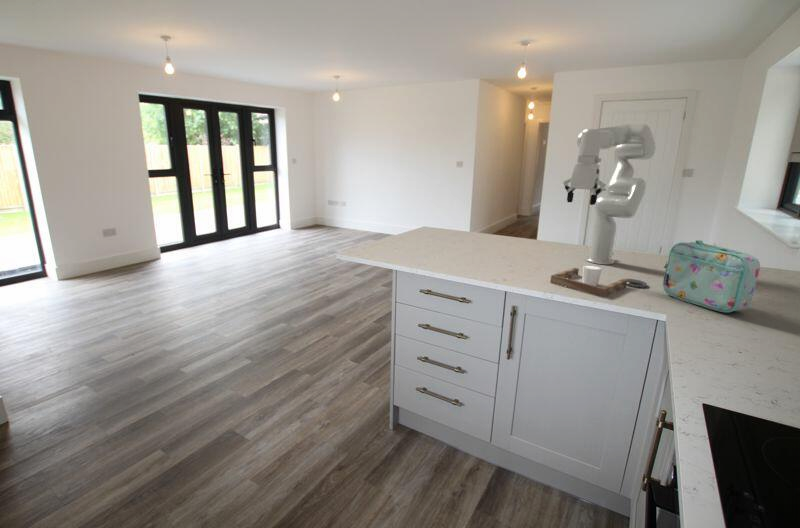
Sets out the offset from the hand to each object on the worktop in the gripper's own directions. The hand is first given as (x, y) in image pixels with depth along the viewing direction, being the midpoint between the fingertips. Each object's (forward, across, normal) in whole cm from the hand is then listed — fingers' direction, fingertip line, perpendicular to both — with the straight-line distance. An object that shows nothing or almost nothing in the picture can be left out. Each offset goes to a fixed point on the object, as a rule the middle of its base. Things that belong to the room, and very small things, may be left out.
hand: (580, 203), depth 169 cm
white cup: (+31, -13, +8) cm, 34 cm away
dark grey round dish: (+30, -24, -6) cm, 39 cm away
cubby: (+31, -13, +9) cm, 34 cm away
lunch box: (+30, -47, -3) cm, 56 cm away
